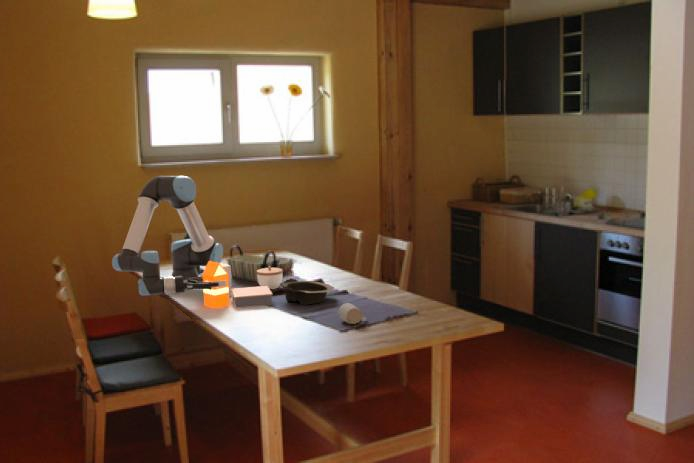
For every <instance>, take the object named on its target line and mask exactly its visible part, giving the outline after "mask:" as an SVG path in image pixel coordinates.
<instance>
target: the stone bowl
mask: <svg viewBox="0 0 694 463" xmlns="http://www.w3.org/2000/svg"><path fill="white" fill-rule="evenodd" d="M280 286H281V287H282V289H284V290H286V292H285V300H286V301H287V302H299V303H300V304H301V305H306V306H307V305H310V304H311V305H315V304H317V303H323V302H322V301H324V300H325V298H326V296H327V293H328V292H332V291H333V290H335V287H334V286H333V285H330V284H328V283H324V282H320V281H314V280H304V281H303V280H301V281H300V280H297V279H295V278H287V279H286V280H284V281H283V282H281V283H280Z"/></svg>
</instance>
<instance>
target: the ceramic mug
mask: <svg viewBox="0 0 694 463" xmlns="http://www.w3.org/2000/svg"><path fill="white" fill-rule="evenodd" d="M337 314H338V317H339V319H340V320H341V321H343V322H345V323H347V324H349V325H351V324H355V325H357V324H356V323H358V324H359V323H360V322H364V321H365V322H366V321H367V317H365V316H364V315H363V314H362V311H361V309H359V308H358V307H357V306H355V305H353V304H352V303H350V302H345V303H343V304H341V305H340V307H339V308H338V313H337Z"/></svg>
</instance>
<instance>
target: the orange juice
mask: <svg viewBox="0 0 694 463" xmlns="http://www.w3.org/2000/svg"><path fill="white" fill-rule="evenodd" d="M220 263H221V262H220ZM220 263H217V262H212V261H209V262H208V264H207V266H205V267H204V270H203V272H202V276H203V282H211V281H221V280H226V286H225V287H213V288H211V290H209V289H202V290H203V291H202V292H203V300H204V301H203V303H204V304H203V306H206V307H209V308H212V309H219V308H223V307H228V306H230V297H229V288H228V274H227V273H226V271H225V270H224V269H223V267H222V266H221V264H220Z"/></svg>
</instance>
